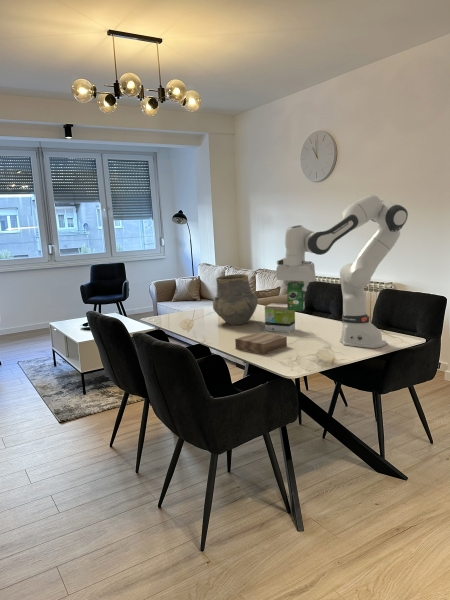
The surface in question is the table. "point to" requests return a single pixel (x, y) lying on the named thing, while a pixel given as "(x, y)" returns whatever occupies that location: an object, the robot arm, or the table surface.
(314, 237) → the robot arm
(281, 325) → the tea box
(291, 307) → the coffee box
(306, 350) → the table surface
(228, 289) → the ceramic pot
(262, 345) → the block
